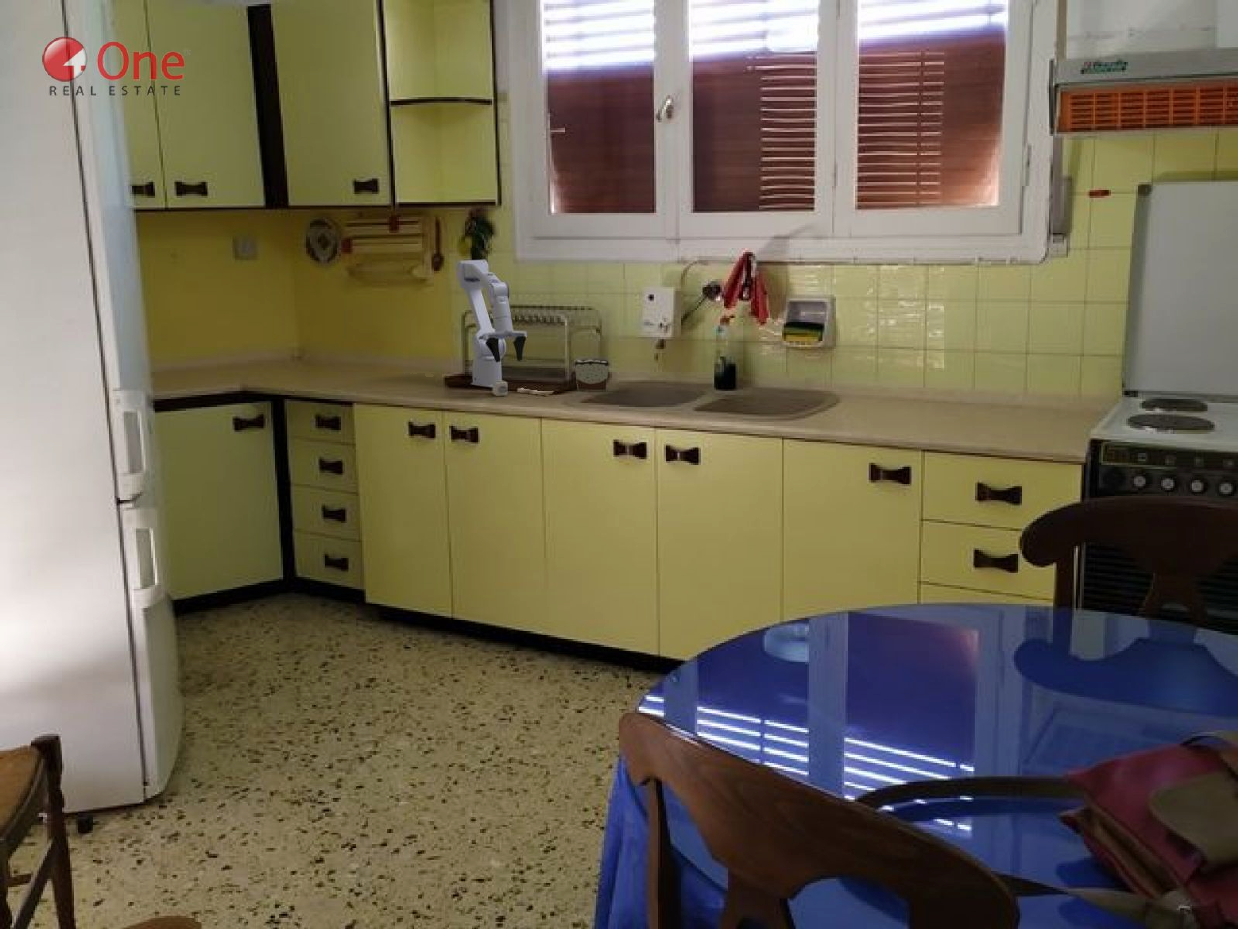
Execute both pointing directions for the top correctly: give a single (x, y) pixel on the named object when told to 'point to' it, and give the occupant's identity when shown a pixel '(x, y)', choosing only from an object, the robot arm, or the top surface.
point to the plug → (500, 387)
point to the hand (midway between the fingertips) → (509, 361)
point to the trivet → (534, 391)
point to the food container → (591, 373)
